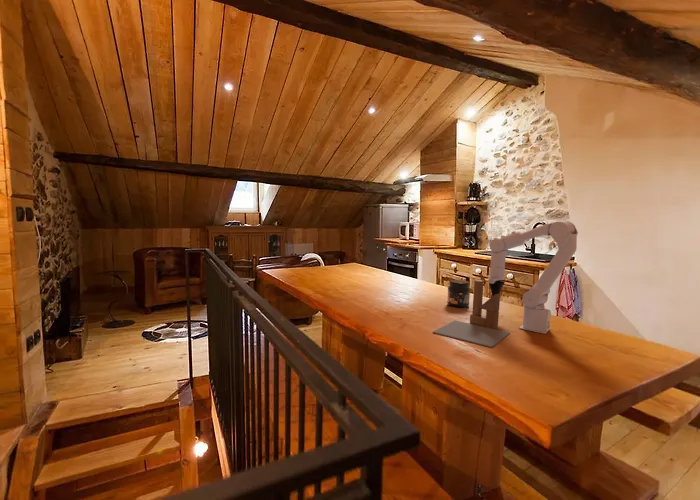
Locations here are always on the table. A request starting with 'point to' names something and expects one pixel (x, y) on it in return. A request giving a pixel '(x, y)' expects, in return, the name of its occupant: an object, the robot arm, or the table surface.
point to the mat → (472, 333)
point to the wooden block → (489, 305)
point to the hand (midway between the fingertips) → (495, 297)
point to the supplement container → (458, 293)
